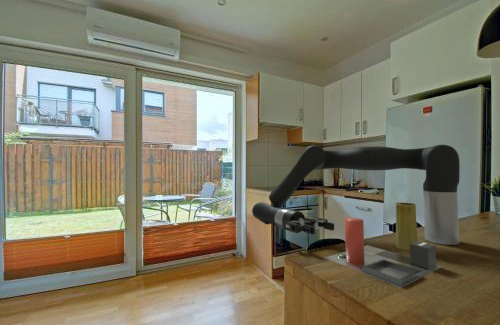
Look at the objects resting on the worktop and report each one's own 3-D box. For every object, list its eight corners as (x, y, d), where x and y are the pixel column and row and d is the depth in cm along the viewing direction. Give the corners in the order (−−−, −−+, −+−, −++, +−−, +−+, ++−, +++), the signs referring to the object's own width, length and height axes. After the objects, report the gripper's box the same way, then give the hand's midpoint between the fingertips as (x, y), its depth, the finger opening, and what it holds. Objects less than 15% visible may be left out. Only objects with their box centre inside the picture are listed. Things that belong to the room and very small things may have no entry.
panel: (367, 247, 76) (367, 241, 76) (442, 268, 59) (442, 261, 59) (324, 259, 66) (324, 253, 66) (400, 290, 49) (400, 281, 49)
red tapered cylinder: (352, 256, 66) (351, 217, 67) (368, 261, 62) (367, 220, 63) (342, 259, 64) (341, 219, 64) (357, 265, 60) (356, 222, 60)
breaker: (418, 260, 63) (417, 240, 63) (436, 265, 59) (435, 244, 59) (410, 263, 61) (410, 243, 61) (428, 269, 57) (428, 247, 57)
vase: (423, 253, 70) (421, 205, 70) (400, 252, 71) (398, 204, 71) (413, 247, 76) (411, 202, 76) (392, 246, 77) (391, 202, 77)
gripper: (273, 211, 83) (307, 219, 69) (303, 207, 90) (339, 214, 76) (274, 233, 82) (307, 245, 68) (304, 227, 90) (339, 237, 76)
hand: (324, 229), depth 72 cm, fingers open, 8 cm apart
